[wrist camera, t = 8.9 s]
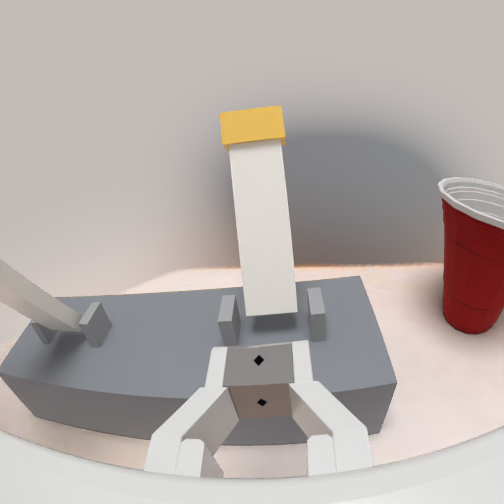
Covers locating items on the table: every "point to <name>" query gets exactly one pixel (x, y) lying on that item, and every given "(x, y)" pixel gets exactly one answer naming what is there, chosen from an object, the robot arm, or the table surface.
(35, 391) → the switch box
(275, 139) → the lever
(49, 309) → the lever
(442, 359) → the table surface
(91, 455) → the table surface
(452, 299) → the plastic cup
